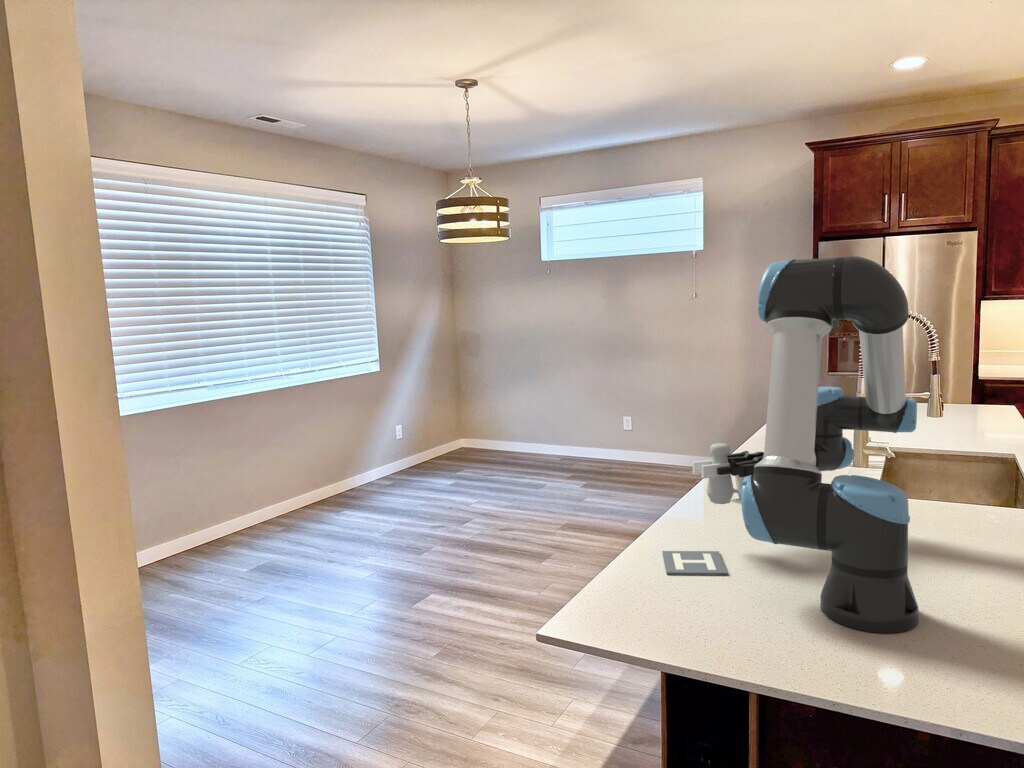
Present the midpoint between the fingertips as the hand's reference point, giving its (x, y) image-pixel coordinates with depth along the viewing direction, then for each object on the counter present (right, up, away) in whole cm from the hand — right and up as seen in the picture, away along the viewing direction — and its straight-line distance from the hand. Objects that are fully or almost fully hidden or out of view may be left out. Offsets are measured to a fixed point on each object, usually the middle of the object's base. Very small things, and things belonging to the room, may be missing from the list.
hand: (698, 470), depth 152 cm
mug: (+23, -13, +39) cm, 47 cm away
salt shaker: (+6, -7, +2) cm, 10 cm away
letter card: (-2, -19, -6) cm, 20 cm away
